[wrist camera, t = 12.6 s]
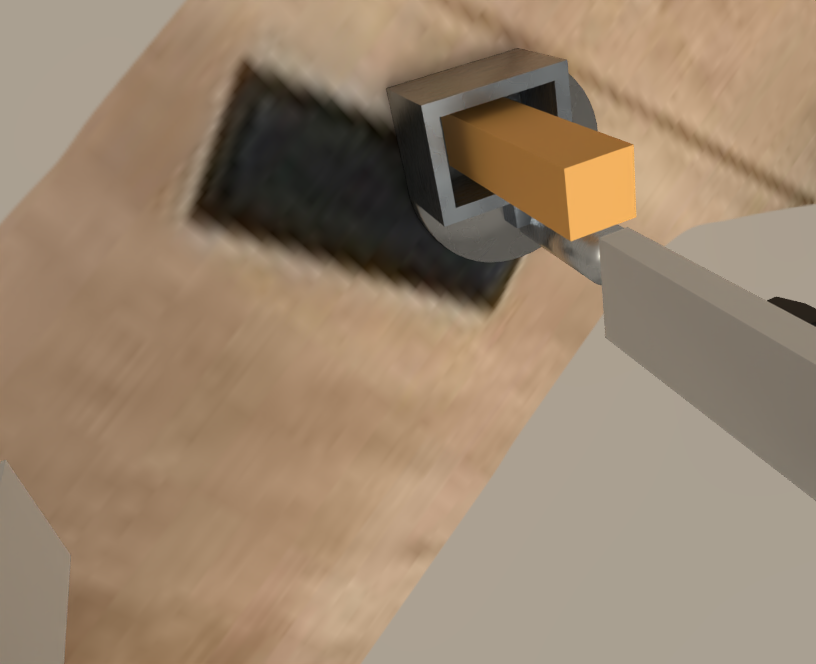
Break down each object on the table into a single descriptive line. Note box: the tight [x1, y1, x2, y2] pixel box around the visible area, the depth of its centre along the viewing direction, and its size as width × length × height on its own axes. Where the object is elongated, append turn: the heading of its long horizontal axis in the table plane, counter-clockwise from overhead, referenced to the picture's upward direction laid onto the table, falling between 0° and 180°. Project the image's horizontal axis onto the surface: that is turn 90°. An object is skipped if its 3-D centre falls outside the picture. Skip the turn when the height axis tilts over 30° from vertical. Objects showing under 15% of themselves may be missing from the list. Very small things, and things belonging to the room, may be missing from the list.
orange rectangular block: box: [441, 97, 636, 241], centre depth 43 cm, size 4×4×16 cm
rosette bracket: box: [386, 48, 624, 285], centre depth 49 cm, size 15×15×11 cm
